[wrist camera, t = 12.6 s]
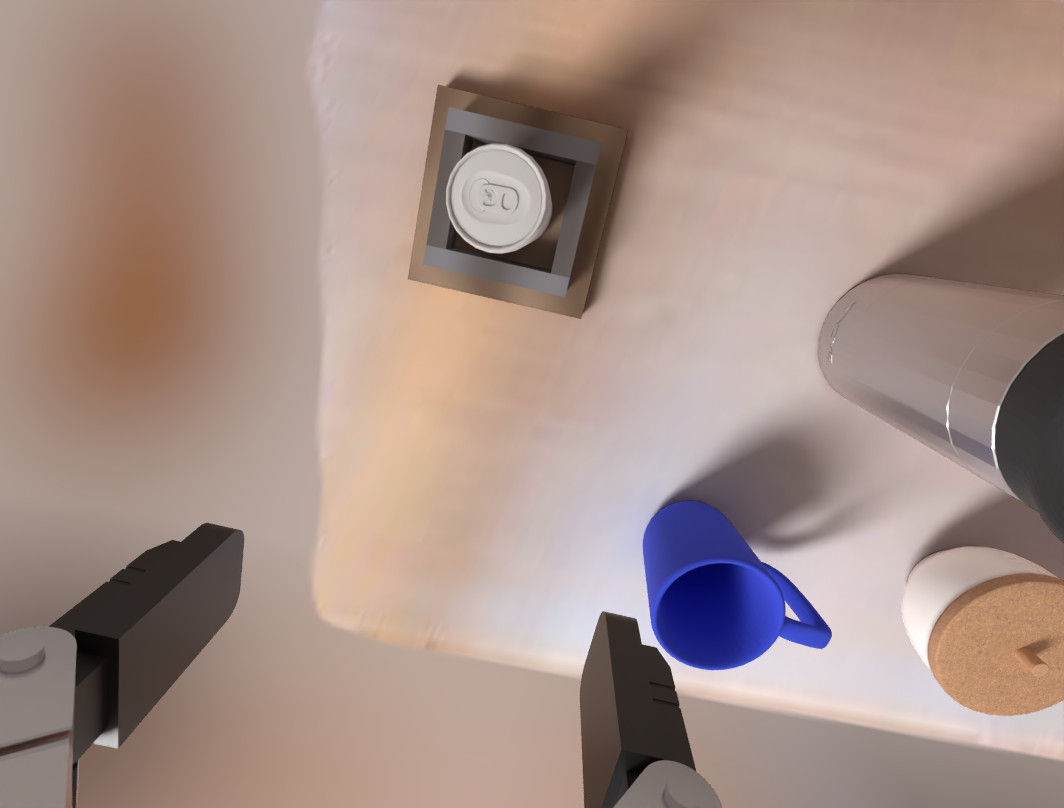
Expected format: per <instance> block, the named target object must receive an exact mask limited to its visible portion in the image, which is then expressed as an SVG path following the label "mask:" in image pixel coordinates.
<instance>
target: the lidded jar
mask: <svg viewBox="0 0 1064 808" xmlns="http://www.w3.org/2000/svg"><path fill="white" fill-rule="evenodd" d="M901 610H902V618H903V622H904V626H905V630H906V632H907V634H908V636H909V638H910V641H911V643H912V645H913V647H914V648H915V650H916V652H917V653H918V655H919V656H920V658H921V659H922V660H923V662H924V663H925V664H926V666H927V667H928V668H929V670H930V671H931V672H932V673H933V675H934V677H935V679H936V680H937V681H938V683H939V684H940V686H941V687H942V688H943V689H944V691H945V692H946V693H947V694H948V695H949V696H950V697H951V698H953V699H954V700H955V701H956V702H958V703H960V704H961V705H963V706H965V707H967V708H969V709H972V710H974V711H978V712H981V713H985V714H990V715H1000V716H1013V715H1021V714H1027V713H1031V712H1036V711H1039V710H1042V709H1045V708H1047V707H1050V706H1052V705H1054V704H1057V703H1059V702H1061V701H1063V700H1064V581H1063V580H1061V579H1059V578H1058V577H1057V576H1055V575H1054V574H1052V573H1050V572H1049V571H1047V570H1046V569H1044V568H1043V567H1041V566H1039V565H1037V564H1035V563H1033V562H1031V561H1029V560H1027V559H1025V558H1022V557H1020V556H1017V555H1015V554H1012V553H1010V552H1006V551H1003V550H999V549H994V548H989V547H976V546H973V547H959V548H953V549H948V550H942V551H939V552H936V553H933V554H931V555H929V556H927V557H925V558H924V559H923V560H921V561H920V562H919V563H918V564H917V565H916V566H915V567H914V568H913V570H912V571H911V573H910V575H909V576H908V579H907V583H906V585H905V588H904V591H903V595H902V603H901Z"/></svg>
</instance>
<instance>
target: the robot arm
mask: <svg viewBox="0 0 1064 808" xmlns="http://www.w3.org/2000/svg"><path fill="white" fill-rule="evenodd" d="M818 357H819V362H820V367H821V369H822V372H823V374H824V376H825V378H826V380H827V381H828V382H829V384H830V385H831V386H832V387H833V389H834V390H836V391H837V392H838V393H840V394H841V395H842V396H843V397H845V398H847V399H848V400H850V401H852V402H853V403H855V404H857V405H859V406H860V407H862V408H864V409H865V410H867V411H869V412H870V413H872V414H873V415H875V416H877V417H878V418H880V419H882V420H883V421H885V422H887V423H888V424H890V425H892V426H894V427H895V428H897V429H899V430H900V431H902V432H904V433H905V434H907V435H909V436H911V437H912V438H914V439H916V440H917V441H919V442H921V443H922V444H924V445H926V446H927V447H929V448H931V449H933V450H934V451H936V452H938V453H939V454H941V455H943V456H944V457H946V458H948V459H949V460H951V461H953V462H955V463H956V464H958V465H960V466H961V467H963V468H965V469H966V470H968V471H970V472H971V473H973V474H975V475H977V476H978V477H980V478H982V479H983V480H985V481H987V482H989V483H991V484H992V485H994V486H996V487H998V488H999V489H1001V490H1003V491H1004V492H1006V493H1008V494H1009V495H1011V496H1013V497H1014V498H1016V499H1018V500H1019V501H1021V502H1023V503H1025V504H1026V505H1028V506H1029V507H1031V508H1032V509H1034V510H1036V511H1038V512H1039V513H1040V515H1041V517H1042V519H1043V520H1044V522H1045V523H1046V525H1047V526H1048V527H1049V529H1050V530H1051V531H1052V532H1053V533H1054V534H1055V535H1056V536H1057V537H1058V538H1059V539H1060V540H1061V541H1062V542H1063V543H1064V296H1063V295H1056V294H1048V293H1041V292H1034V291H1026V290H1019V289H1012V288H1004V287H997V286H989V285H982V284H975V283H967V282H960V281H952V280H946V279H940V278H932V277H924V276H917V275H909V274H889V275H884V276H879V277H875V278H873V279H870V280H868V281H865V282H863V283H861V284H860V285H858V286H856V287H855V288H853V289H852V290H850V291H849V292H848V293H847V294H846V295H844V296H843V297H842V298H841V299H840V300H839V301H838V302H837V303H836V305H835V306H834V307H833V309H832V310H831V311H830V313H829V314H828V316H827V318H826V320H825V322H824V324H823V326H822V330H821V334H820V337H819V344H818ZM243 548H244V534H243V532H242V531H241V530H237V529H233V528H228V527H224V526H219V525H215V524H210V523H205V524H202V525H201V526H200V527H198V528H197V529H196V530H195V531H194V532H192V533H191V534H190V535H189V536H188V537H186V538H185V539H184V540H183V541H182V542H179V541H175V540H171V541H169V542H166V543H164V544H161V545H159V546H157V547H154V548H152V549H149V550H147V551H145V552H144V553H143V554H141V555H140V556H139V557H138V558H136V559H135V560H134V561H132V562H131V563H130V564H129V565H127V567H126V569H122V570H121V571H120V572H118V573H117V574H116V575H115V576H113V577H112V578H111V579H110V581H109V582H105V583H104V584H103V585H102V586H100V587H99V588H98V589H97V590H95V591H94V592H93V593H91V594H90V595H89V596H87V597H86V598H85V599H84V600H82V601H81V602H80V603H79V604H77V605H76V606H75V607H73V608H72V609H71V610H69V611H68V612H67V613H66V614H64V615H63V616H62V617H60V618H59V619H58V620H57V621H55V622H54V623H53V624H51V625H50V626H49V627H31V628H25V629H20V630H16V631H12V632H9V633H6V634H3V635H1V636H0V808H77V797H78V773H79V772H78V771H79V758H80V757H81V756H82V755H83V754H84V752H85V751H86V750H87V749H88V748H89V747H90V746H91V744H93V743H94V744H99V745H103V746H108V747H113V748H117V749H118V748H119V747H120V746H121V745H122V743H123V742H124V741H125V740H126V739H127V737H128V736H129V735H130V734H131V733H132V732H133V730H134V729H135V728H136V727H137V726H138V725H139V723H140V722H141V721H142V720H143V719H144V718H145V716H146V715H147V714H148V713H149V712H150V710H151V709H152V708H153V707H154V706H155V705H156V703H157V702H158V701H159V700H160V699H161V697H162V696H163V695H164V694H165V693H166V692H167V690H168V689H169V688H170V687H171V686H172V684H173V683H174V682H175V681H176V680H177V679H178V677H179V676H180V675H181V674H182V673H183V672H184V670H185V669H186V668H187V667H188V666H189V665H190V663H191V662H192V661H193V660H194V659H195V658H196V656H197V655H198V654H199V653H200V652H201V650H202V649H203V648H204V647H205V646H206V645H207V643H208V642H209V641H210V640H211V639H212V638H213V636H214V635H215V634H216V633H217V632H218V630H219V629H220V628H221V627H222V626H223V625H224V623H225V622H226V621H227V620H228V618H229V617H230V615H231V614H232V612H233V610H234V608H235V606H236V603H237V600H238V597H239V592H240V584H241V572H242V560H243ZM580 710H581V711H580V712H581V736H582V760H583V780H584V781H583V784H584V806H585V808H722V805H721V802H720V800H719V798H718V796H717V794H716V792H715V791H714V789H713V788H712V787H711V785H710V784H709V783H708V782H707V781H706V780H705V779H704V778H703V777H702V776H701V775H700V774H698V773H697V772H696V768H695V764H694V761H693V757H692V753H691V749H690V745H689V741H688V737H687V733H686V729H685V725H684V721H683V717H682V713H681V709H680V708H679V701H678V697H677V693H676V691H675V685H674V681H673V677H672V673H671V669H670V666H669V665H668V663H667V662H666V661H665V659H664V658H663V656H662V655H661V654H660V652H659V651H658V649H657V648H655V647H651V646H646V645H642V643H641V638H640V633H639V628H638V623H637V620H636V619H635V618H631V617H626V616H622V615H617V614H613V613H608V612H604V611H603V612H602V613H601V615H600V617H599V620H598V623H597V626H596V629H595V633H594V636H593V639H592V642H591V646H590V649H589V652H588V656H587V659H586V662H585V665H584V669H583V674H582V679H581V688H580Z"/></svg>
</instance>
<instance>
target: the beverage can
mask: <svg viewBox="0 0 1064 808" xmlns="http://www.w3.org/2000/svg"><path fill="white" fill-rule="evenodd" d="M446 205H447V210H448V214H449V218H450V220H451V222H452V224H453V226H454V228H455V229H456V231H457V232H458V233H459V234H460V235H461V237H462V238H463V239H464V240H465V241H466V242H468V243H469V244H471V245H472V246H474V247H475V248H477V249H480V250H483V251H486V252H489V253H502V254H503V253H508V252H512V251H516V250H518V249H520V248H522V247H524V246H526V245H528V244H530V243H531V242H532V241H535V240H536V239H538V238H539V237H540V236H541V235H542V234H543V233H544V232H545V230H546V229H547V227H548V226H549V223H550V220H551V217H552V201H551V195H550V190H549V186H548V182H547V179H546V177H545V175H544V173H543V171H542V169H541V167H540V166H539V165H538V164H537V162H536V161H535V160H534V159H533V158H532V157H531V156H530V155H528V154H527V153H526V152H524V151H523V150H521V149H519V148H517V147H514V146H511V145H508V144H498V143H492V144H487V145H483V146H479V147H477V148H476V149H474V150H472V151H470V152H468V153H467V154H466V155H465V156H464V157H463V158H462V159H461V160H460V161H459V162H458V163H457V164H456V166H455V167H454V169H453V171H452V173H451V174H450V177H449V181H448V184H447V188H446Z"/></svg>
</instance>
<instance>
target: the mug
mask: <svg viewBox="0 0 1064 808" xmlns="http://www.w3.org/2000/svg"><path fill="white" fill-rule="evenodd" d="M643 555H644V564H645V573H646V581H647V590H648V599H649V608H650V617H651V624H652V628H653V631H654V634H655V636H656V638H657V640H658V642H659V643H660V645H661V646H662V647H663V648H664V649H665V651H666V652H667V653H669V654H670V655H671V656H672V657H674V658H675V659H677V660H678V661H680V662H682V663H684V664H686V665H689V666H692V667H695V668H700V669H706V670H724V669H730V668H735V667H738V666H741V665H744V664H746V663H749V662H751V661H753V660H754V659H756V658H758V657H759V656H761V655H762V654H763V653H764V652H766V651H767V650H768V649H769V648H770V647H771V646H772V644H773V643H774V642H775V641H776V639H777V638H778V636H780V637H782V638H784V639H787V640H789V641H792V642H795V643H798V644H802V645H805V646H809V647H813V648H819V649H822V648H825V647H826V646H827V644H828V643H829V641H830V639H831V637H832V632H831V630H830V628H829V627H828V625H827V624H826V623H825V621H824V620H823V619H822V618H821V616H820V615H819V614H818V612H817V611H816V610H815V609H814V607H813V606H812V605H811V603H810V602H809V601H808V600H807V599H806V598H805V596H804V595H803V594H802V593H801V592H800V591H799V590H798V588H797V587H796V586H795V585H794V584H793V583H792V582H791V581H790V580H789V579H788V578H787V577H785V576H784V575H783V574H782V573H781V572H779V571H778V570H777V569H775V568H773V567H771V566H770V565H768V564H766V563H763V562H761V561H760V560H759V559H758V557H757V556H756V555H755V554H754V552H753V551H752V550H751V548H750V547H749V546H748V545H747V543H746V542H745V541H744V539H743V538H742V537H741V536H740V534H739V533H738V532H737V530H736V529H735V528H734V527H733V525H732V524H731V523H730V521H729V520H728V519H727V518H726V517H725V516H724V515H723V514H722V513H721V512H719V511H718V510H717V509H715V508H713V507H712V506H709V505H707V504H704V503H701V502H696V501H682V502H677V503H674V504H671V505H669V506H667V507H665V508H663V509H662V510H660V511H659V512H658V513H657V514H656V515H655V516H654V517H653V518H652V519H651V521H650V522H649V524H648V526H647V528H646V531H645V533H644V538H643ZM784 600H785V601H786V602H787V604H788V605H789V606H790V608H791V609H792V610H793V611H794V613H795V614H796V615H797V617H798V618H799V620H800V621H801V622H800V621H796V620H793V619H791V618H788V617H786V616H785V601H784Z"/></svg>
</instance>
